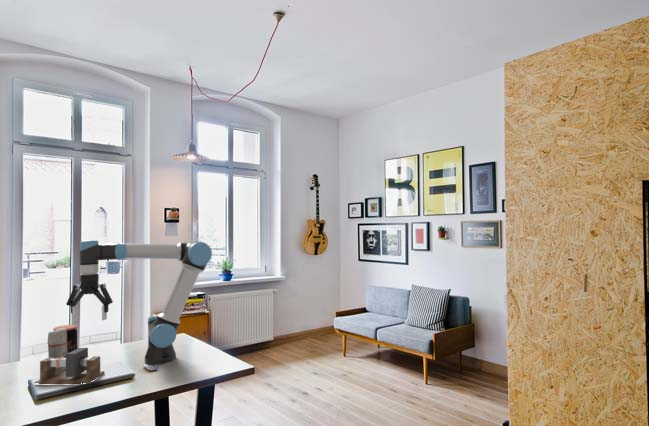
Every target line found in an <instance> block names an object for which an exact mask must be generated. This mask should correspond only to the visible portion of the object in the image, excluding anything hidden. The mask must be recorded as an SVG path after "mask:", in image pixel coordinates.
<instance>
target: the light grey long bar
mask: <svg viewBox="0 0 649 426" xmlns="http://www.w3.org/2000/svg"><path fill="white" fill-rule="evenodd" d="M90 358H91V359H93V358H94V356H90V357H89V356H88V357H84V358H79V366H86V360H88V359H90ZM49 367H56V368H59V367H66V358H64V357H60V358H51V359H50V360H49Z"/></svg>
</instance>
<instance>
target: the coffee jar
mask: <svg viewBox="0 0 649 426" xmlns="http://www.w3.org/2000/svg"><path fill="white" fill-rule="evenodd" d="M60 328H64V329H66V331H67V351H68V353H69V352H72V351H74V350H76V349H78V330H77V328H78V325H77V324H66V325H64V324H63V325H60V326H55V327H54V328H53V331H55V330H57V329H60Z"/></svg>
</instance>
